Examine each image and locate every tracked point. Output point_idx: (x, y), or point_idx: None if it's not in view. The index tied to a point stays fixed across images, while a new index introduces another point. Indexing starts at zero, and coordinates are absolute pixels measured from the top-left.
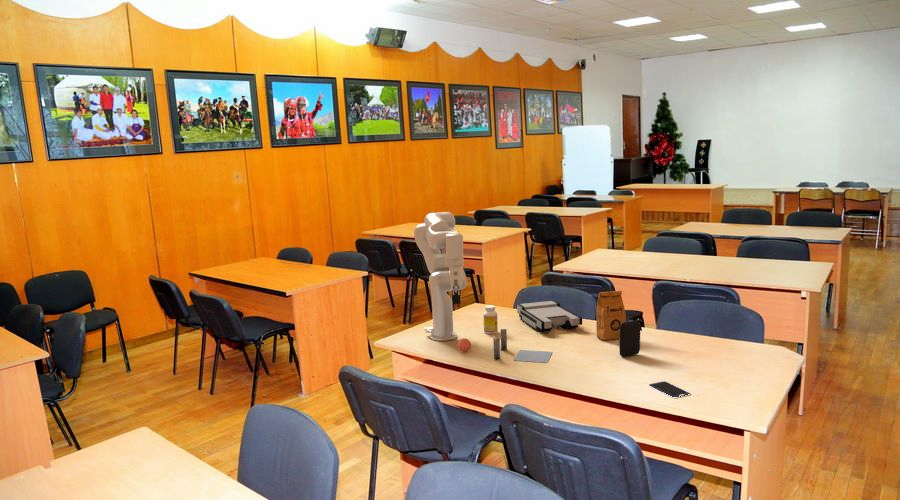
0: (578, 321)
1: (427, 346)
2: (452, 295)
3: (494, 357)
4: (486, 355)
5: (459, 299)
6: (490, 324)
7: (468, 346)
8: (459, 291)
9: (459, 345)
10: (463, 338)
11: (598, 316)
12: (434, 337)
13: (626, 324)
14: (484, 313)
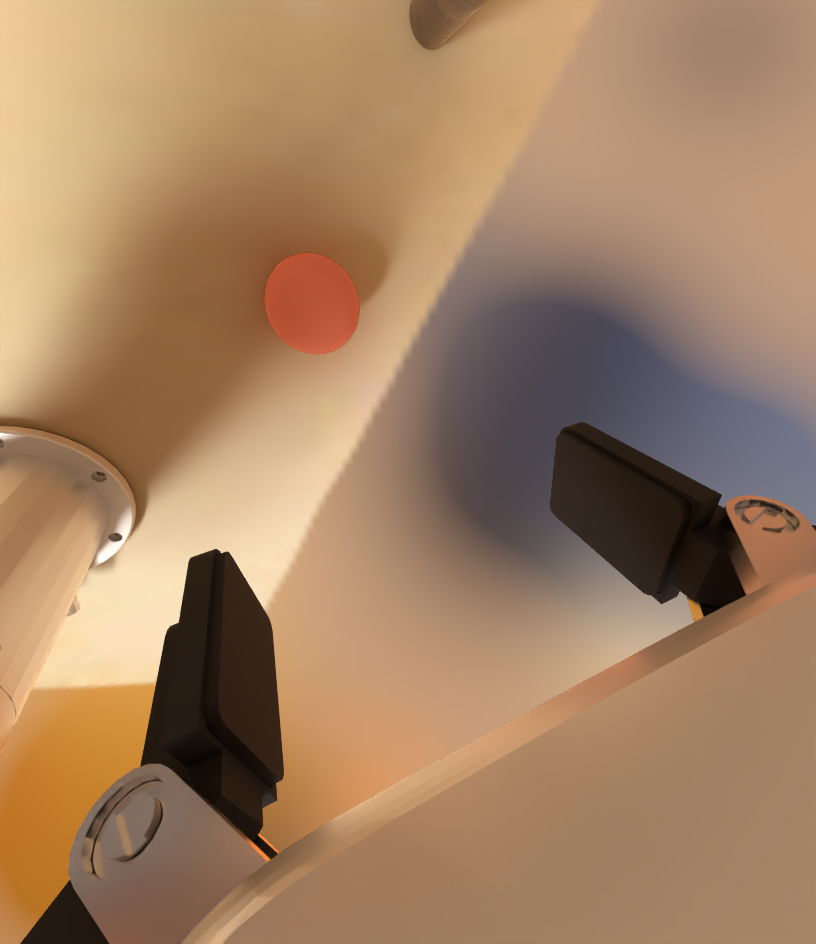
0: None
1: (252, 516)
2: (669, 591)
3: (449, 37)
4: (354, 120)
5: (631, 460)
6: None
7: (344, 270)
8: (199, 677)
9: (351, 335)
10: (315, 320)
11: None
12: (109, 538)
13: None
14: None
